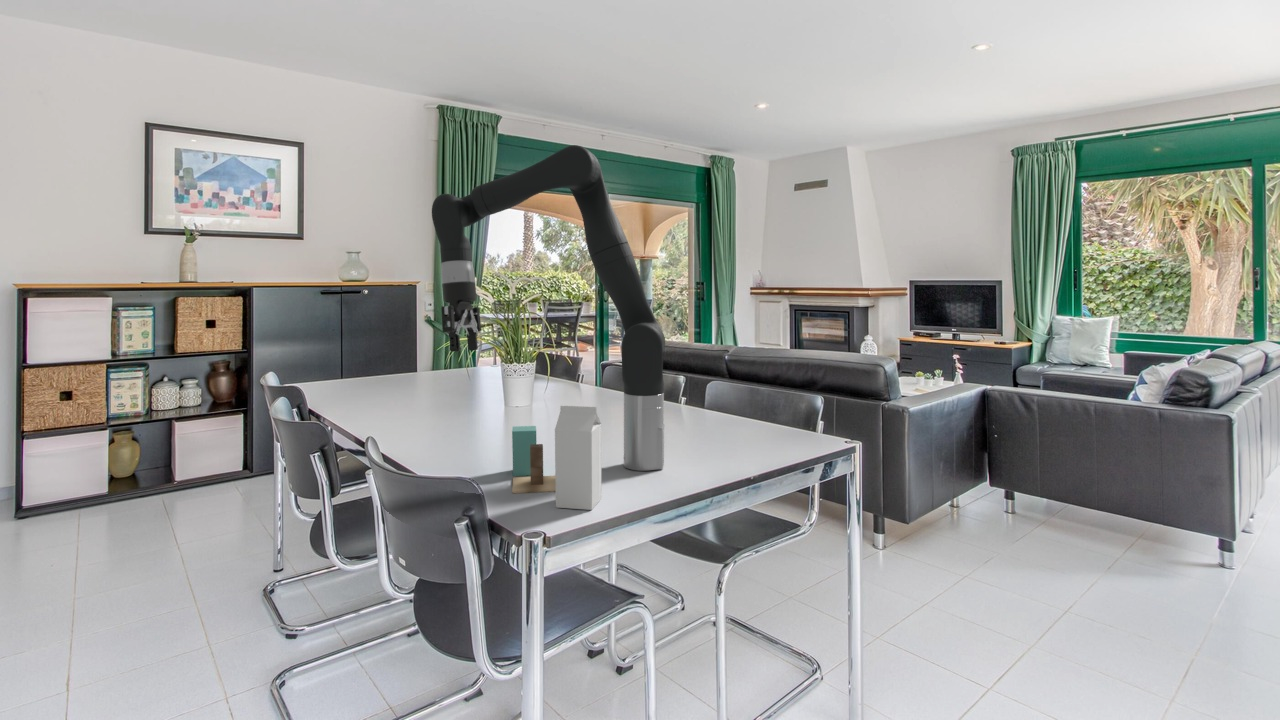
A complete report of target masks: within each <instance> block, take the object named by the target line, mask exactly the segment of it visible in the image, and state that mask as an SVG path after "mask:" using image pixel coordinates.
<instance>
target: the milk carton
mask: <svg viewBox="0 0 1280 720" xmlns="http://www.w3.org/2000/svg"><path fill="white" fill-rule="evenodd" d="M559 407H560V409H559V414H558V418H557V421H556V424H555V427H554V455H555V456H554V463H555V464H554V469H555V474H554V476H555V485H556V491H555V508H559V509H560V508H563V509H571V510H572V509H575V510H589V511H590V510H591V511H592V510H593V509H594V508H595V506H596V505H597V504H598V503H599V501H600V500H601V499H602V496H603V495H602V422H601V420H600V418H599V414H598V413H597V406H586V405H585V406H584V405H563V404H561V405H560V406H559Z"/></svg>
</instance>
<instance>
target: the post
mask: <svg viewBox="0 0 1280 720" xmlns="http://www.w3.org/2000/svg"><path fill="white" fill-rule="evenodd" d="M530 468H531V475H530V476H513V477H512V494H524V493H525V494H527V493H528V492H529V493H543V492H544V493H547V492H556V485H555V475H544V446H543V444H542V443H541V444H540V443H538V444H537V443H536V444H531V445H530Z"/></svg>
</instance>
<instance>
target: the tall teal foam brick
mask: <svg viewBox="0 0 1280 720" xmlns="http://www.w3.org/2000/svg"><path fill="white" fill-rule="evenodd" d="M511 433H512V434H511V435H512V436H511V438H512V439H511V440H512V441H511V443H512V446H511V448H512V476H513V477H527V476H526V475H528V476H531V468H530V445H531V444H537V426H536V425H522V426H521V425H520V426H519V425H518V426H512V430H511Z"/></svg>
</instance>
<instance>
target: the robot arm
mask: <svg viewBox="0 0 1280 720" xmlns="http://www.w3.org/2000/svg"><path fill="white" fill-rule="evenodd" d="M567 187H568V189H570V192H571V194H572V196H573V198H574V200H575V203H576V204H577V206H578V209H579V211H580V215H581V217H582V222H583V227H584V234H585V235H584V236H585V242H586V246H587V251H588V253H589V257H590V259H591V261H592V264H593V268H594V270H595V272H596V275H597V277H598V279H599V281H600V283H601V285H602V286H603V288H604V290H605V292H606V293H607V294H608V296H609V298H610V299H611V301H612V303H613V304H614V306H615V308H616V310H617V312H618V315H619V317H620V321H621V324H622V327H623V330H624V334H623V337H622V340H621V341H622V343H621V379H622V385H623V468H626V469H629V470H632V471H645V472H647V471H655V470H663V469H664V465H665V423H664V419H665V418H664V414H665V412H664V411H665V410H664V409H665V406H664V405H665V383H664V373H663V369H664V362H663V359H664V358H663V357H664V356H663V354H664V351H665V347H666V336H665V334H664V332H663V330H662V328H661V326H660V325H659V322H658V320H657V319H656V316H655V315H654V312H653V310H652V308H651V306H650V304H649V302H648V300H647V296H646V293H645V290H644V286H643V282H642V279H641V275H640V272H639V270H638V266H637V263H636V260H635V258H634V254H633V252H632V249H631V246H630V244H629V241H628V239H627V236H626V235H625V234H626V233H625V231H624V230H623V227H622V225H621V222H620V221H619V218H618V217H617V215H616V212H615V210H614V208H613V206H612V204H611V201H610V197H609V195H608V194H609V193H608V191H607V188H606V184H605V180H604V176H603V171H602V167H601V164H600V162H599V160H598V157H596V156H595V154H594V153H593V152H591V151H590V150H589V149H588V148H585V147H584V146H582V145H578V144H577V145H576V144H572V145H568V146H565V147H564V148H562V149H560V150H558V151H556V152H554V153H553V154H550V155H549V156H548V157H546V158H544V159H542V160H541V161H538V162H536V163H535V164H534V163H533V165H530V166H528V167H526V168H523V169H521V170H518V171H515V172H514V173H511V174H508V175H505V176H503V177H499V178H496V179H493V180H491V181H488V182H485V183H483V184H480V185H477V186H475V187H473V189H472V190H471V192H470V194H467V195H466V196H462V197H458V196H456V195H454V194H450V193H442V194H441V193H440V195H438V196H436V197H435V199H434V201H433V203H432V205H431V218H432V223H433V227H434V230H435V234H436V237H437V240H438V243H439V248H440V250H439V251H440V260H441V261H440V263H441V270H440V271H441V273H440V274H441V276H440V277H441V285H442V286H441V287H442V297H443V299H442V300H443V302H444V303H445V304H449V305H442V306H441V308H440V309H441V321H442V322H441V324H442V325H441V327H442V332H443V333H444V334H445V333H446V335H447V336H448V339H449V349H450V350H449V351H450V352H452V353H453V352H455V353H456V352H460V351H461V339H460V338H461V337H460V331H461V328H463V329H464V330H465V332H466V337H467V338H466V339H467V350H468V351H477V350H478V349H479V345H478V334H479V332H482V323H481V314H480V313H481V312H480V308H479V307H478V306H474V307H473V305H472V303H474V302H475V301H477V290H476V289H477V287H476V275H475V274H476V273H475V269H474V265H473V255H472V254H473V253H472V245H471V242H470V239H469V238H468V237H467V236H466V235H465V233H464V228H467V227H470V226H473V225H474V224H476V223H477V222H479V221H481V220H483V219H484V218H486V217H488V216H492V215H494V214H498V213H502V212H503V211H506V210H509V209H511V208H513V207H516V206H519V204H521V203H524V202H525V201H527V200H529V199H530V198H533V197H534V196H536V195H538V194H542V193H544V192H547V191H550V190H554V189H560V188H567Z"/></svg>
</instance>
